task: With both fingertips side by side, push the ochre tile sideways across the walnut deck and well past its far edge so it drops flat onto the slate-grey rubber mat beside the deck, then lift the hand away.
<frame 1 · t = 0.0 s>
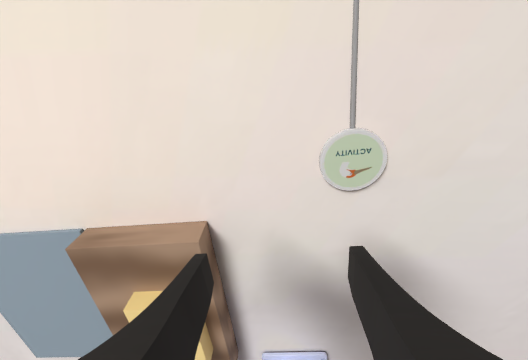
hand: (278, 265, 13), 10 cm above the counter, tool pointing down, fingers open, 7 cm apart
tile: (176, 322, 27), point 3 cm above the counter, touching deck
deck: (172, 297, 30), on the counter
mat: (57, 301, 31), on the counter
sign: (351, 95, 20), on the counter
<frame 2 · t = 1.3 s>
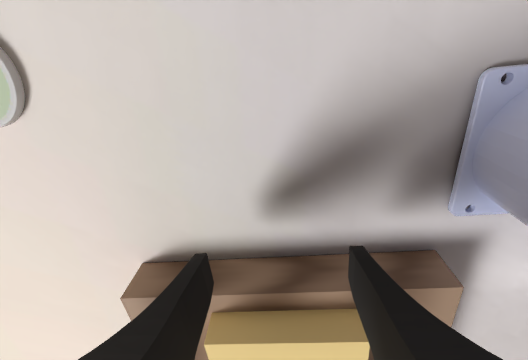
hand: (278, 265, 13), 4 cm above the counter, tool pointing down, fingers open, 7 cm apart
tile: (287, 341, 18), point 3 cm above the counter, touching deck
deck: (287, 315, 21), on the counter
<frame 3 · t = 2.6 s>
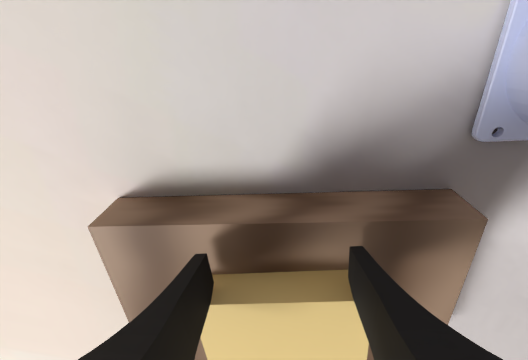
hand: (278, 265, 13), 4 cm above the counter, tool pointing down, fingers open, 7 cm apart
tile: (282, 308, 16), point 3 cm above the counter, touching gripper
deck: (280, 268, 19), on the counter
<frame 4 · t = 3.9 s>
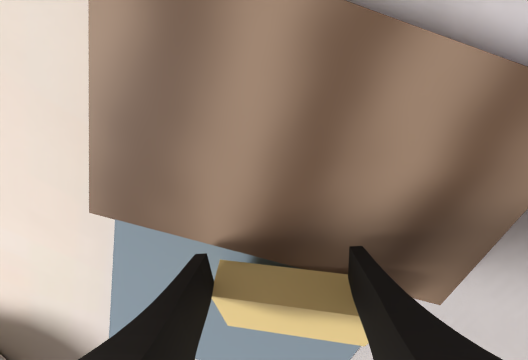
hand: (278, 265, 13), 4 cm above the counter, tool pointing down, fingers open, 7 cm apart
tile: (297, 288, 17), point 2 cm above the counter, tilted 23°, touching gripper
deck: (309, 143, 15), on the counter
mat: (244, 307, 21), on the counter
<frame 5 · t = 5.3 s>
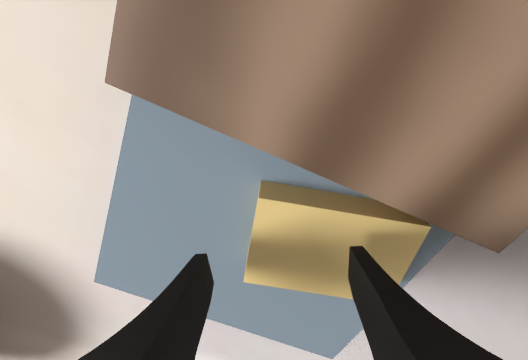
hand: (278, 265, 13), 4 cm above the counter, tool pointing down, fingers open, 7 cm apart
tile: (324, 234, 17), resting on mat
deck: (380, 42, 12), on the counter
mat: (259, 253, 18), on the counter
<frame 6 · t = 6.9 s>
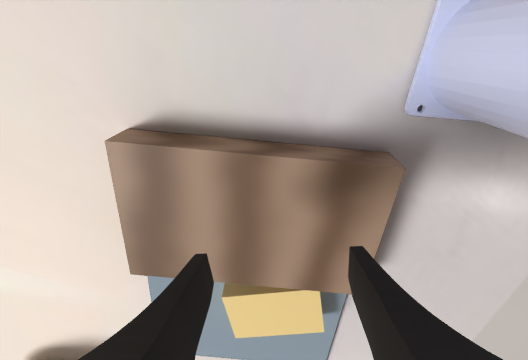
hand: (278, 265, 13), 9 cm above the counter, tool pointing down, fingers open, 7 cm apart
tile: (274, 297, 27), resting on mat
deck: (253, 207, 23), on the counter
mat: (245, 315, 29), on the counter
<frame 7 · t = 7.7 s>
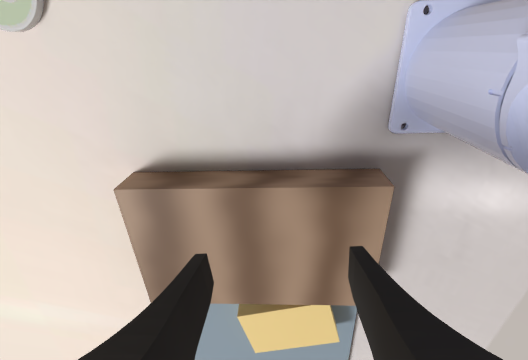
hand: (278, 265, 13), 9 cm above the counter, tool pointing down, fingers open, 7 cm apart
tile: (288, 311, 28), resting on mat
deck: (256, 230, 24), on the counter
mat: (262, 329, 30), on the counter
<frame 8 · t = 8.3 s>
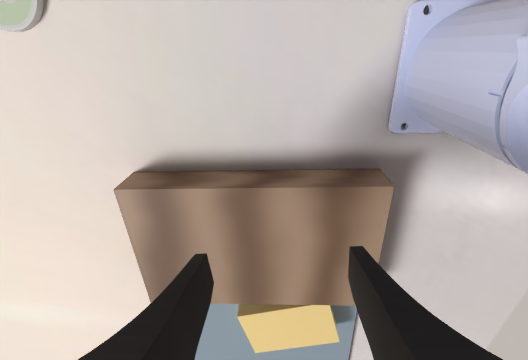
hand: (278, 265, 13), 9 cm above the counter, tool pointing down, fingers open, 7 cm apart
tile: (288, 311, 28), resting on mat
deck: (256, 230, 24), on the counter
mat: (262, 329, 30), on the counter
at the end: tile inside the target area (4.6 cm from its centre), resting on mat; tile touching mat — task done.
